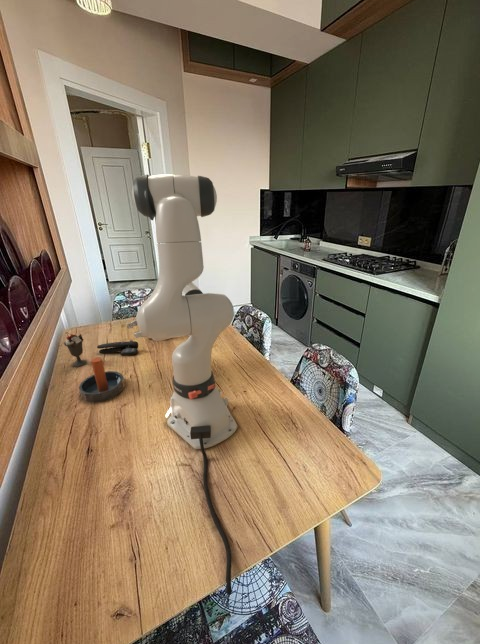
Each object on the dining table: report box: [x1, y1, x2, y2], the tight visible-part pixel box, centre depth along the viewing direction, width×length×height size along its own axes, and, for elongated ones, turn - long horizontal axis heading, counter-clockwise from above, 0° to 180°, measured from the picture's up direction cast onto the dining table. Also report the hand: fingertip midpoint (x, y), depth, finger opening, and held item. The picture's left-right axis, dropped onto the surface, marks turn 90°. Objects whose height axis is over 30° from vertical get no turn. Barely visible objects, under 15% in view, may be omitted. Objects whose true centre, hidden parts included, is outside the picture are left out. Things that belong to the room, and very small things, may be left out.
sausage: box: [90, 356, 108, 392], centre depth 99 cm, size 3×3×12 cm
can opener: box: [96, 339, 139, 357], centre depth 125 cm, size 18×7×6 cm, turn 89°
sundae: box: [63, 331, 88, 368], centre depth 115 cm, size 7×7×15 cm
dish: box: [78, 370, 126, 403], centre depth 101 cm, size 14×14×4 cm
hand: (130, 330), depth 101 cm, fingers open, 8 cm apart
